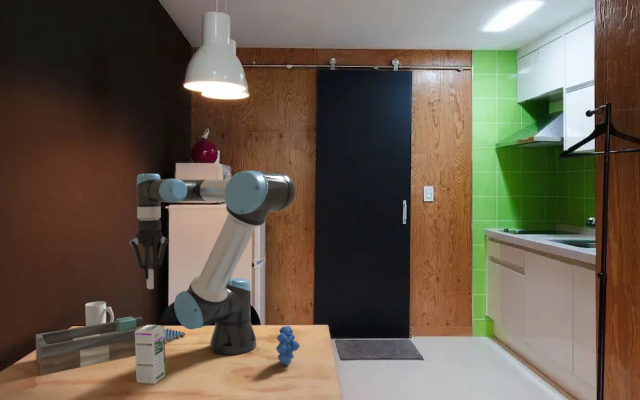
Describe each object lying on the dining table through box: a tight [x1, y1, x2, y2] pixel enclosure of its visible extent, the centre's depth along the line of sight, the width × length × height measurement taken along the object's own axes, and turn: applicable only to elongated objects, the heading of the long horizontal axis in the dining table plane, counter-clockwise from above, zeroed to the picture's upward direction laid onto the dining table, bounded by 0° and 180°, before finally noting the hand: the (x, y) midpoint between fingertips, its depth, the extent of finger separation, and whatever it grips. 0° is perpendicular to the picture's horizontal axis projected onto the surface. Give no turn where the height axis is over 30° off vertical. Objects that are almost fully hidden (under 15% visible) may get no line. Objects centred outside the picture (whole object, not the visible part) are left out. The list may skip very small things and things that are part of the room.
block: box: [115, 316, 136, 332], centre depth 153 cm, size 5×5×5 cm
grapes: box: [275, 325, 301, 366], centre depth 138 cm, size 12×7×12 cm, turn 166°
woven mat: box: [164, 328, 186, 344], centre depth 165 cm, size 10×11×2 cm
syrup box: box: [135, 324, 167, 385], centre depth 128 cm, size 6×6×14 cm
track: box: [35, 316, 144, 376], centre depth 147 cm, size 15×32×8 cm, turn 127°
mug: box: [84, 301, 115, 326], centre depth 166 cm, size 10×7×12 cm, turn 85°
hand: (150, 288), depth 157 cm, fingers closed
